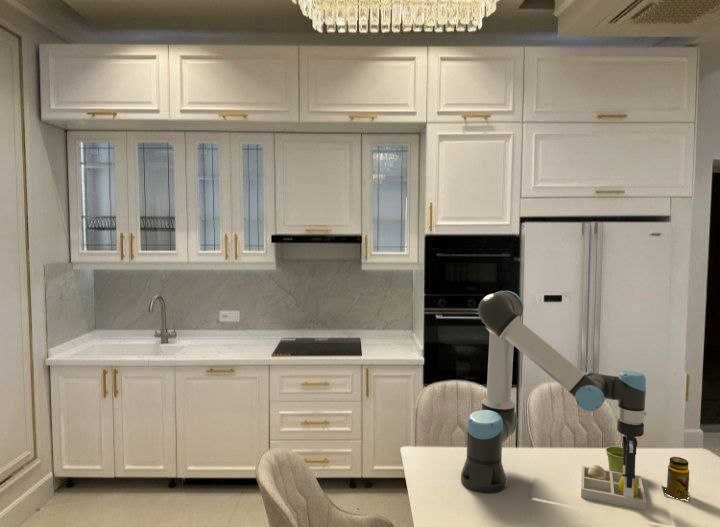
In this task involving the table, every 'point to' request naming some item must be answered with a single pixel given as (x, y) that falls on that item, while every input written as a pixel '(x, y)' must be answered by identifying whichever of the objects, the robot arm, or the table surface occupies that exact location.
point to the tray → (611, 490)
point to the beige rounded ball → (597, 472)
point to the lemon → (621, 486)
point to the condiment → (677, 479)
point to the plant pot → (615, 458)
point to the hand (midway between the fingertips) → (627, 491)
